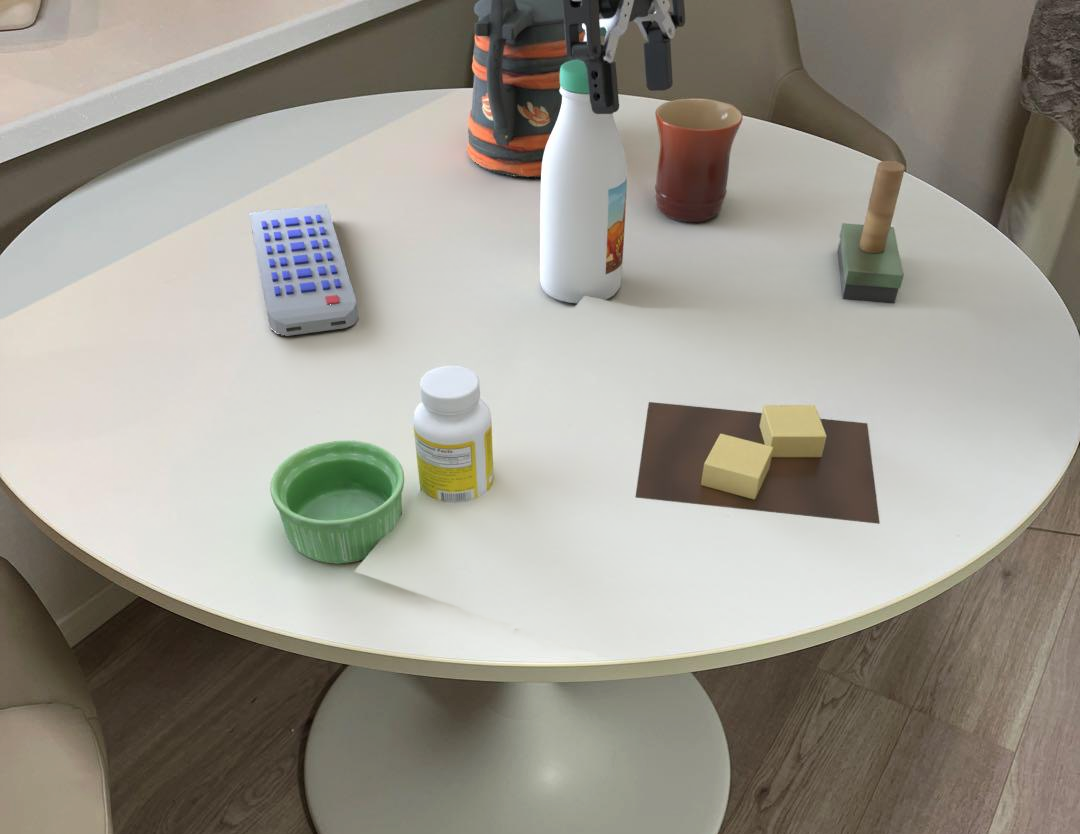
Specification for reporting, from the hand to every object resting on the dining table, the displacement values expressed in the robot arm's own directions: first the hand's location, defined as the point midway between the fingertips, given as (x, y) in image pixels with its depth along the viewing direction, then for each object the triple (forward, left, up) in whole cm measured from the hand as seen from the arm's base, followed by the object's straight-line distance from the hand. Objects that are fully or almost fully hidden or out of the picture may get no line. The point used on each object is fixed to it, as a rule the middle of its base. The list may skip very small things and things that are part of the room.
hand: (633, 100), depth 87 cm
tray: (-13, +25, -18) cm, 33 cm away
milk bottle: (+4, -1, -18) cm, 19 cm away
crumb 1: (-11, +28, -16) cm, 34 cm away
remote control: (+31, +1, -18) cm, 36 cm away
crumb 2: (-15, +23, -16) cm, 32 cm away
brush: (-23, -8, -18) cm, 30 cm away
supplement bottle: (+9, +31, -18) cm, 37 cm away
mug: (-6, -21, -18) cm, 28 cm away
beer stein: (+14, -29, -18) cm, 37 cm away
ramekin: (+16, +36, -18) cm, 43 cm away
